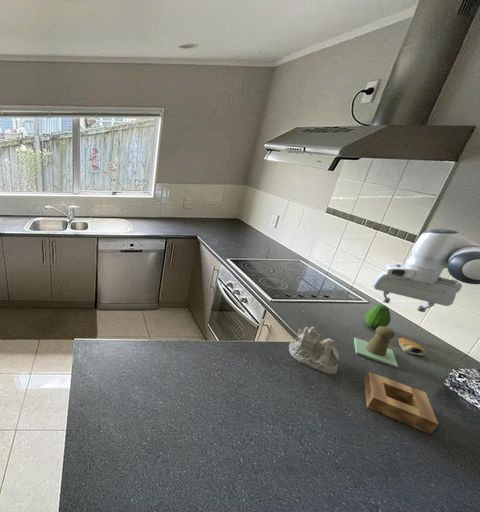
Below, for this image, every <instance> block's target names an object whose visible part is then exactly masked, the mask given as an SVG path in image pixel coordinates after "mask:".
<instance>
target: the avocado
mask: <svg viewBox="0 0 480 512" xmlns="http://www.w3.org/2000/svg"><path fill="white" fill-rule="evenodd" d="M391 321H392V319H391V312H390V309H389V308H388V306H386V305H384V304H377V305H375V306H374V307H372V308H371V309H370V310H369V311H368V312H367V313H366V315H365V323H366V325H368V327H370V328H373V329H377V328H378V327H380V326H383V327H388V326H389V324H390V323H391Z"/></svg>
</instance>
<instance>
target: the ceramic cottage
mask: <svg viewBox="0 0 480 512" xmlns="http://www.w3.org/2000/svg"><path fill="white" fill-rule="evenodd" d="M321 337H322V335H321V333H318V332H317V330H315V327H314V326H311V327H310V328H309V326H305V327H304V329H301V328H299V330H298V331H297V336H296V337H295V339H294V340H293V341H291V342H290V343H289V344H288V351H289V354H290V356H291V357H292V358H293V359H295V360H296V361H297V362H299V363H300V364H302V365H305V366H307V367H310V368H312V369H314V370H316V371H318V372H321V373H324V374H327V375H336V374H337V372H338V367H339V364H338V362H339V361H340V357H339V351H338V350H337V349H336V348H335V346H334V345H333V344H334V339H332V338H330V337H329V338H328V337H327V338H326V339H323V340H321Z"/></svg>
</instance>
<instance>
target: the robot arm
mask: <svg viewBox="0 0 480 512" xmlns="http://www.w3.org/2000/svg"><path fill="white" fill-rule="evenodd" d="M444 269H447V272H448V274H449V275H450V276H451V277H452V278H453V279H450V278H446V277H441V274H442V272H443V270H444ZM461 283H465V284H470V285H480V243H476V242H474V241H472V240H470V239H468V238H466V236H463V234H461V233H459V232H458V231H457V230H454V229H453V230H452V229H444V228H435V229H428V230H425V231H424V232H423V233H421V234H420V235H419V237H418V238H417V240H416V241H415V243H414V245H413V246H412V248H411V252H410V256H409V258H408V259H407V260H406V261H405V263H386V264H385V265H384V269H382V270H380V271H379V272H378V273H377V275H376V276H375V278H374V279H373V281H372V287H373V289H374V290H377V291H382V294H383V295H382V296H383V299H382V302H383V303H386V304H389V303H390V302H391V297H388V296H389V294H394V295H397V296H398V295H399V296H402V297H406V298H411V299H415V300H419V301H424V302H426V303H425V304H424V305H419V306H418V308H417V311H418V312H421V313H426V312H427V310H428V309H430V308H432V307H434V306H435V305H436V304H437V305H440V306H445V307H449V306H451V305H453V304H454V301H455V299H456V296H457V294H458V293H459V292H460V291H461V289H462V288H463V285H462V284H461Z"/></svg>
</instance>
